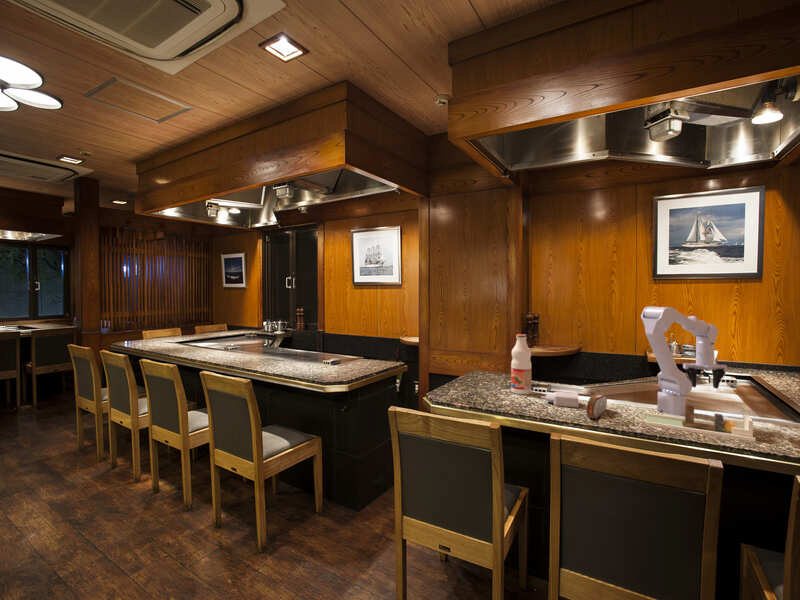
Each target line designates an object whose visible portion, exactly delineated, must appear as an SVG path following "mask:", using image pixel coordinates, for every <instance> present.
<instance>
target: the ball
mask: <svg viewBox="0 0 800 600" xmlns="http://www.w3.org/2000/svg"><path fill="white" fill-rule="evenodd" d="M732 427H735V428H736V425H735V424H734V423H733V422H730V421H728V420H727V421H725V422H724V421H723V429H724V430H725V431H726V432H729V433H732Z"/></svg>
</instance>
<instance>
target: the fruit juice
mask: <svg viewBox="0 0 800 600" xmlns="http://www.w3.org/2000/svg"><path fill="white" fill-rule="evenodd" d="M515 337H516V338H515V339H516V342H515V345H514V347H512V349H511V358H512V359H511V362H510V363H511V364H510V391H511V393H512V392H513V394H515V393H516V395H523V394H524V395H530V394H532V361H531V357H532V351H531V349H530V347H529V346H528V343H527V339H528V338H527V334H525V333H524V334H523V333H517V334H516V335H515Z"/></svg>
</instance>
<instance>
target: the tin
mask: <svg viewBox="0 0 800 600" xmlns="http://www.w3.org/2000/svg"><path fill="white" fill-rule="evenodd" d="M607 402H608V396H607V395H606V394H603V393H599V392H598V393H596V394H594V395H591V396H590V397H589V399H588V402H587V405H586V417H588V418H589V419H590V418H591V419H593V420H596V419H599V418H600V417H602V416H603V415H604V413H605V411H606V410H607ZM598 417H599V418H598Z"/></svg>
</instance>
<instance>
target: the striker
mask: <svg viewBox="0 0 800 600" xmlns="http://www.w3.org/2000/svg"><path fill="white" fill-rule="evenodd" d="M684 418H685V421H683V420H682V426H689V427H695V428H702V429H709V430H715V431H722V432H723V423H724V416H723V414H722V413H714V421H713V422H714V425H710V424H703V423H696V422H694V419H695V404H694V403H689V402H686V403H685V415H684Z"/></svg>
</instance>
